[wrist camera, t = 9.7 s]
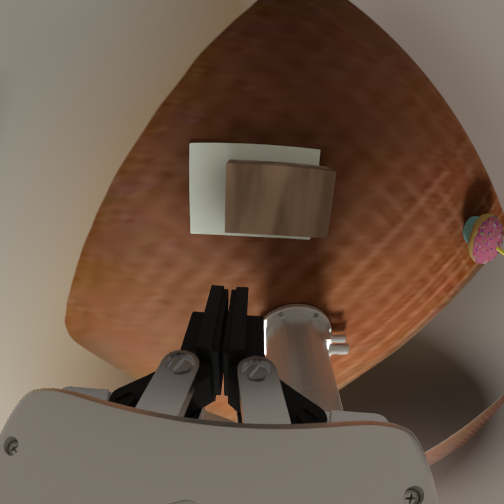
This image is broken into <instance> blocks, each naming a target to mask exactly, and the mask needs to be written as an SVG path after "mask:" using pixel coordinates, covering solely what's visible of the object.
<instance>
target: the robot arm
mask: <svg viewBox="0 0 504 504" xmlns="http://www.w3.org/2000/svg"><path fill="white" fill-rule="evenodd" d="M247 305H248V287H237V288H236V290H232V292H231V298H230V305H229V312H228V289H224V286H217V285H212V286H211V290H210V294H209V297H208V301H207V305H206V308H205V312H193V313H192V315H191V318H190V321H189V325H188V328H187V331H186V334H185V337H184V340H183V344H182V347H181V350H176V351H173V352H170V353H169V354H167V355H166V356H165V357H164V358H163V360H162V361H161V363H160V365H159V367H158V368H157V370H156V372H153V373H151V374H149V375H147V376H145V377H143V378H140V379H138V380H136V381H134V382H132V383H129V384H128V385H125V386H123V387H121V388H118V389H117V390H115V391H114V392H109V390H108V389H92V388H81V387H72V386H71V387H65V388H63V389H55V388H42V389H36V390H33V391H31V392H29V393H27V394H26V395H25V396H24V397H23V398H22V399H21V400H20V402H19V403H18V405H17V406H16V407H15V409H14V410H13V412H12V413H11V415H10V417H9V419H8V420H7V422H6V424H5V426H4V428H3V430H2V432H1V434H0V504H439V502H438V497H437V493H436V488H435V484H434V480H433V477H432V474H431V470H430V467H429V464H428V461H427V459H426V456H425V454H424V451H423V449H422V448H421V445H420V443H419V441H418V440H417V438H416V437H415V435H414V434H413V433H412V432H411V431H410V430H408V429H406V428H405V427H402V426H399V425H396V424H392V423H388V421H387V420H386V418H385V417H383V416H382V415H379V414H375V413H374V414H373V413H359V412H346V411H343V409H342V404H341V401H340V396H339V392H338V388H337V384H336V380H335V376H334V372H333V368H332V364H331V360H330V356H331V354H337V355H341V354H348V352H349V345H348V343H342V344H332V342H337V343H340V342H345V341H346V335H345V334H338V335H332V334H331V331H332V330H331V324H330V321H329V319H328V317H327V316H326V314H325V313H324V312H323V311H321V310H320V309H318V308H316V307H314V306H311V305H306V304H290V305H285V306H281V307H279V308H276V309H274V310H272V311H271V312H269V313H268V314H267V315H265V316H248V315H247ZM265 355H266V358H265ZM223 373H224V395H225V396H228V404H229V405H230V406H232V407H233V408H234V409H235V410H236V417H237V423H233V422H219V421H210V420H202V418H203V415H204V412H205V406H207V405H208V404H210V403H212V402H213V401H215V399H216V395H221V389H222V381H223Z"/></svg>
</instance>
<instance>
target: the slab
mask: <svg viewBox="0 0 504 504" xmlns="http://www.w3.org/2000/svg"><path fill="white" fill-rule="evenodd" d="M335 179H336V171H334V170H333V169H331V168H329V167H326V166H318V165H308V164H298V163H286V162H273V161H256V160H233V159H230V160H229V161H228V162H227V163H226V191H225V233H243V234H262V235H280V236H297V237H313V238H327V235H328V229H329V222H330V216H331V209H332V202H333V194H334V187H335Z"/></svg>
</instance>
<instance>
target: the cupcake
mask: <svg viewBox="0 0 504 504" xmlns="http://www.w3.org/2000/svg"><path fill="white" fill-rule="evenodd" d="M463 236H464V239H465V240H466V242H467V244H468V251H469V254H470V256H471V258H472V260H473V261H475V262H476V263H480V264H484V263H485V264H486V263H487V262H490V261H492V259H494V258H495V257H496V255H497V254H498V253H499V252H500V253H502V254H503V255H504V250H502V249H501V246H502V243H503V228H502V224H501V222H500V220H499V219H498V218H497V217H496V216H494V215H492V214H491V213H488V214H482V215H481V216H480V217H478V216H472V217H470V218H469V219H468V220H467V221H466V223H465V225H464V229H463Z"/></svg>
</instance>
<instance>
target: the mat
mask: <svg viewBox="0 0 504 504" xmlns="http://www.w3.org/2000/svg"><path fill="white" fill-rule="evenodd" d="M230 159H233V160H256V161H273V162H286V163H298V164H308V165H318V166H319V160H320V150H319V149H310V148H301V147H290V146H278V145H263V144H243V143H190V147H189V191H190V230H191V234H213V235H234V236H254V237H272V238H290V239H307V240H310V237H297V236H280V235H262V234H243V233H225V191H226V163H227V162H228V161H229V160H230Z"/></svg>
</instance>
